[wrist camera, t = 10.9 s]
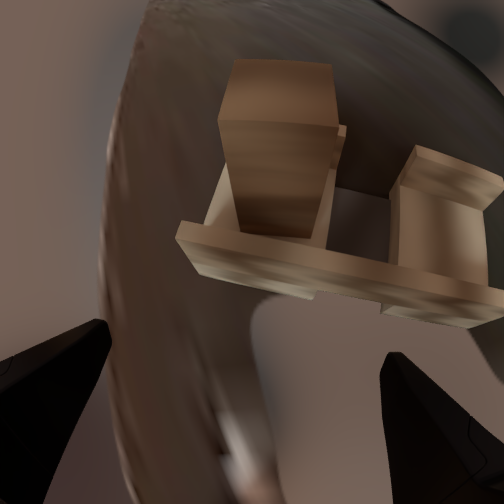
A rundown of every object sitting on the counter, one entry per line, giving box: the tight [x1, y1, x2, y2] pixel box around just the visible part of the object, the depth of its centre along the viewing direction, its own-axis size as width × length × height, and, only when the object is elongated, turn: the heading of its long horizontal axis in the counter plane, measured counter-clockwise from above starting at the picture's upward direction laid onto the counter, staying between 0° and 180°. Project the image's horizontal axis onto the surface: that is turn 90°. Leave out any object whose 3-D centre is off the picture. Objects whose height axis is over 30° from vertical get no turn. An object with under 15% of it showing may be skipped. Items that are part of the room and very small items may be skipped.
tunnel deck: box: [175, 125, 504, 329], centre depth 21 cm, size 24×11×7 cm, turn 76°
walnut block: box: [218, 59, 339, 239], centre depth 18 cm, size 5×5×11 cm
